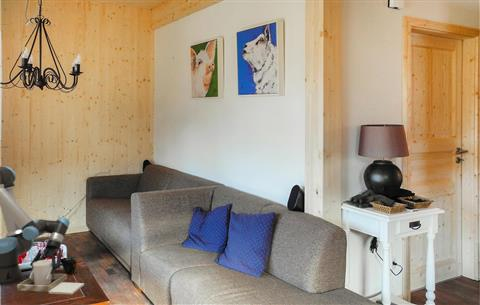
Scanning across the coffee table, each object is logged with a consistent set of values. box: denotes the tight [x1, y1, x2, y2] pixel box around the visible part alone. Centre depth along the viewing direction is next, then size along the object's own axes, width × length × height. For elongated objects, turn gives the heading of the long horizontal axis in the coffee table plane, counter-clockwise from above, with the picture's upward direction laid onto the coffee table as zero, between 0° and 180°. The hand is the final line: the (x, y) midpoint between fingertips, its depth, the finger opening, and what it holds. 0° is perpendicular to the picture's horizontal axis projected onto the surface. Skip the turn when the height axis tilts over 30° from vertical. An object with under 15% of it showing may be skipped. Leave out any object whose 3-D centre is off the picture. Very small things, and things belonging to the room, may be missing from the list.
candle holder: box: [33, 259, 53, 286], centre depth 229 cm, size 10×10×12 cm
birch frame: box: [16, 273, 68, 293], centre depth 229 cm, size 18×18×3 cm
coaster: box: [48, 281, 85, 296], centre depth 223 cm, size 13×13×1 cm
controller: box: [60, 256, 77, 274], centre depth 248 cm, size 4×12×10 cm, turn 57°
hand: (39, 279), depth 226 cm, fingers closed on candle holder, 9 cm apart
